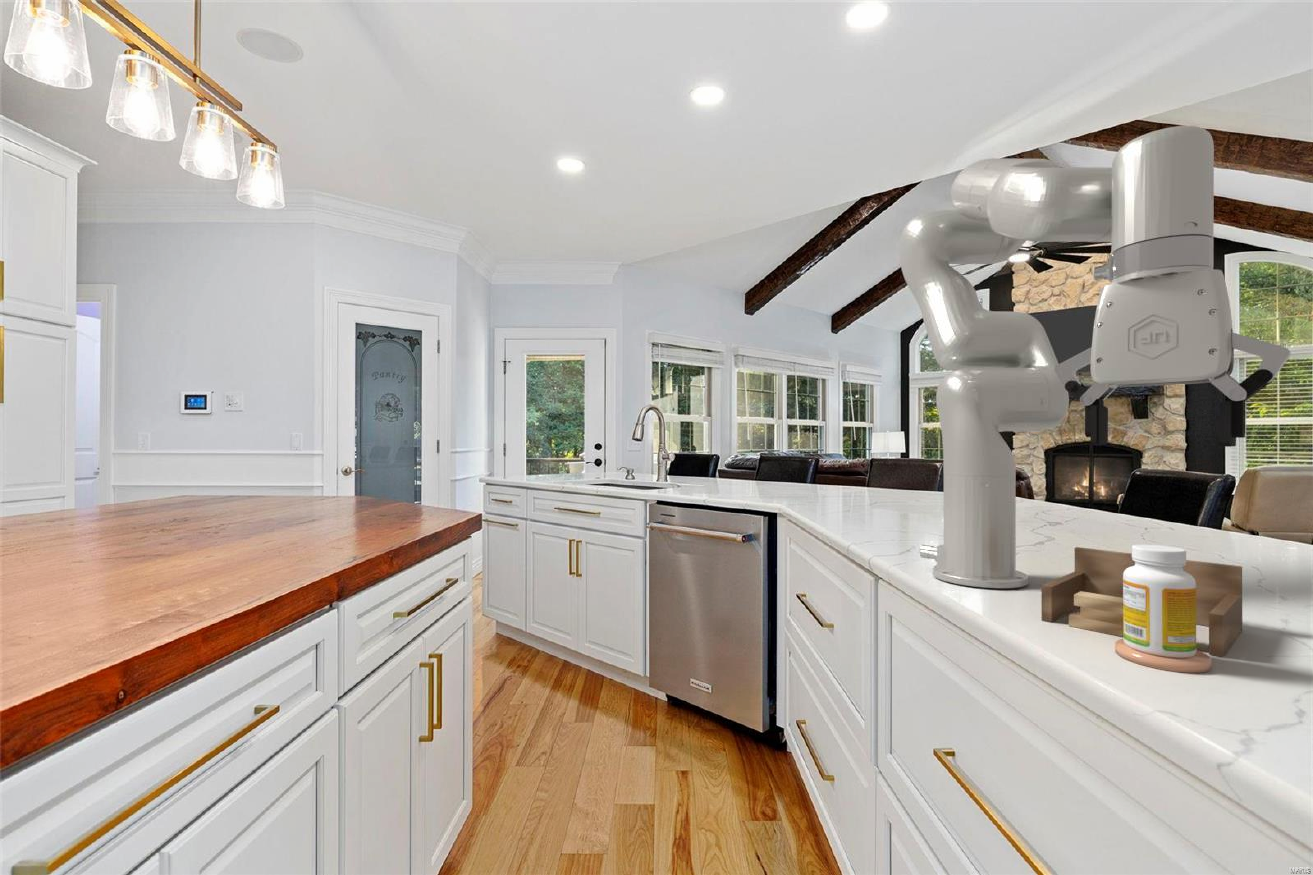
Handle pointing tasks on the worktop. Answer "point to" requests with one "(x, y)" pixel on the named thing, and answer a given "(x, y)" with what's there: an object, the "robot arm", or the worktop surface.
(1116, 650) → the terracotta coaster
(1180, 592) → the supplement bottle
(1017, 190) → the robot arm
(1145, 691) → the worktop surface
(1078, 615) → the frame
